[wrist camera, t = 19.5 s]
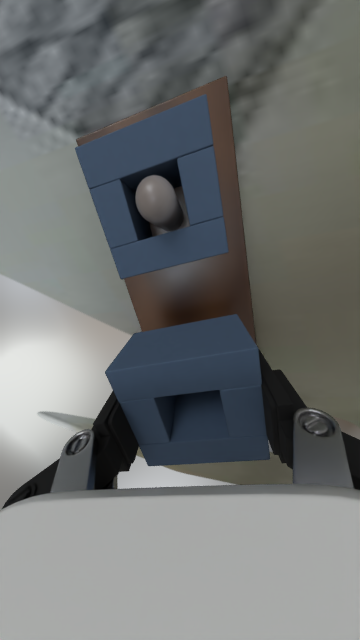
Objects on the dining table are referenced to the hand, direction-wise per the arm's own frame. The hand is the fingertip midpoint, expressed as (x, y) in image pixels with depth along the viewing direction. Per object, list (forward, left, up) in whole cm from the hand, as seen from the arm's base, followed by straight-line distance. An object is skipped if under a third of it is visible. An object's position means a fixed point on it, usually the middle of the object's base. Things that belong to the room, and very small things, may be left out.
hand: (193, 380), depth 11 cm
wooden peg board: (0, -5, -7) cm, 9 cm away
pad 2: (0, 0, -1) cm, 1 cm away
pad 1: (0, -10, -6) cm, 12 cm away
